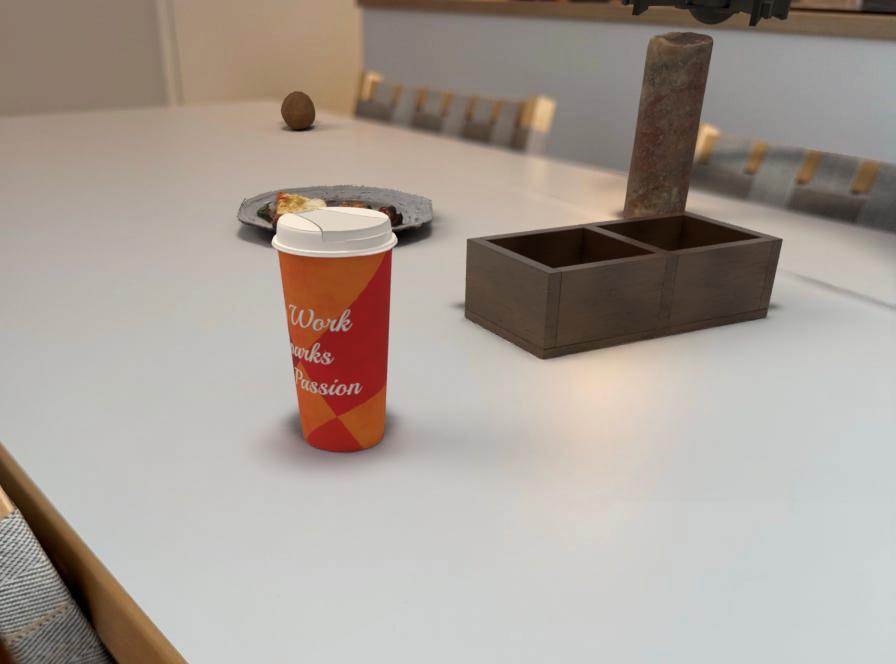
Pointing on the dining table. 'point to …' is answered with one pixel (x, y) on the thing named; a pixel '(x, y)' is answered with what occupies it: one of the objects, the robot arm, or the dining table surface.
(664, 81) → the candle
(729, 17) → the robot arm
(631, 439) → the dining table surface
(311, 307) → the paper cup
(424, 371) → the dining table surface
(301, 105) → the potato
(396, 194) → the food plate
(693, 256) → the brown wooden divided box
